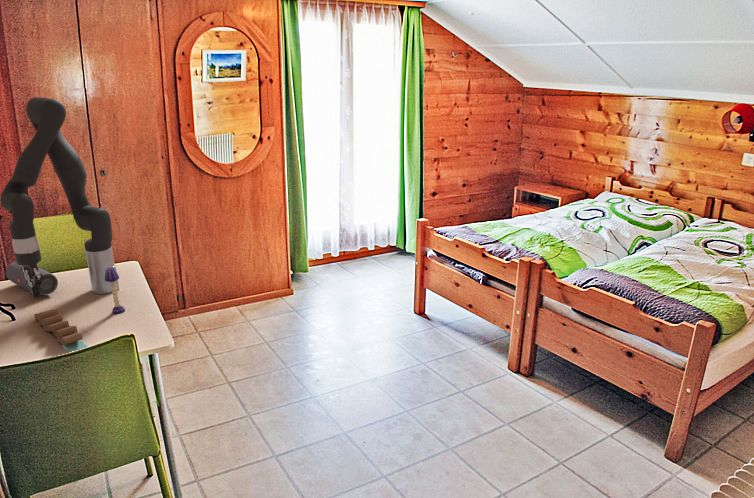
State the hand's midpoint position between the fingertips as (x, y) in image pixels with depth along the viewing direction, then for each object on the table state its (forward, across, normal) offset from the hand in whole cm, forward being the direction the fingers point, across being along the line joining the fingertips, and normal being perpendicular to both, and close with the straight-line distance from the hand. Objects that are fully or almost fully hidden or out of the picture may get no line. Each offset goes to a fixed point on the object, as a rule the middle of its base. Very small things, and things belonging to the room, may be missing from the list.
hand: (36, 295), depth 203 cm
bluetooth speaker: (+8, -25, +8) cm, 28 cm away
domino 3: (+7, +12, -1) cm, 14 cm away
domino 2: (+7, +7, -1) cm, 10 cm away
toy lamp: (+8, +17, +20) cm, 27 cm away
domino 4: (+7, +19, -1) cm, 20 cm away
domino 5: (+7, +24, -2) cm, 25 cm away
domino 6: (+8, +28, -2) cm, 29 cm away
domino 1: (+7, +2, 0) cm, 7 cm away
